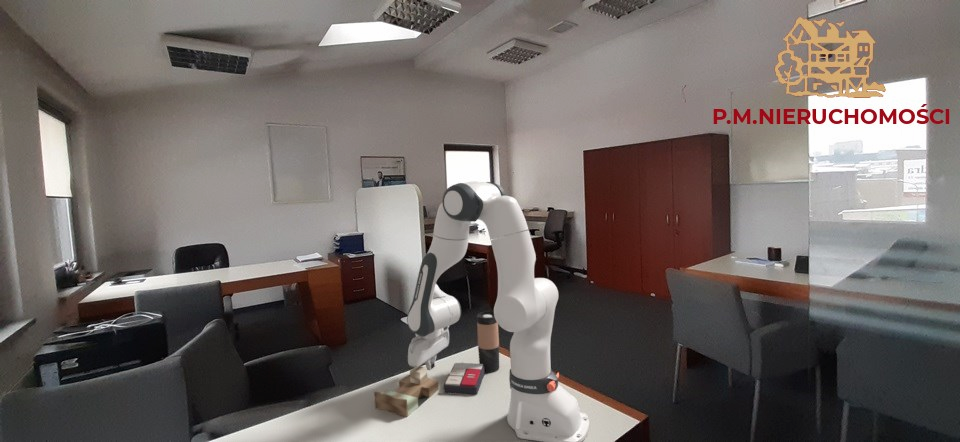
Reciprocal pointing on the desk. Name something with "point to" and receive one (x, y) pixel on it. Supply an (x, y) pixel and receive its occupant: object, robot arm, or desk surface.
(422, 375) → the block
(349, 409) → the desk surface
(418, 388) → the stacked wooden blocks
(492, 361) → the travel mug
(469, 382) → the red and grey box
